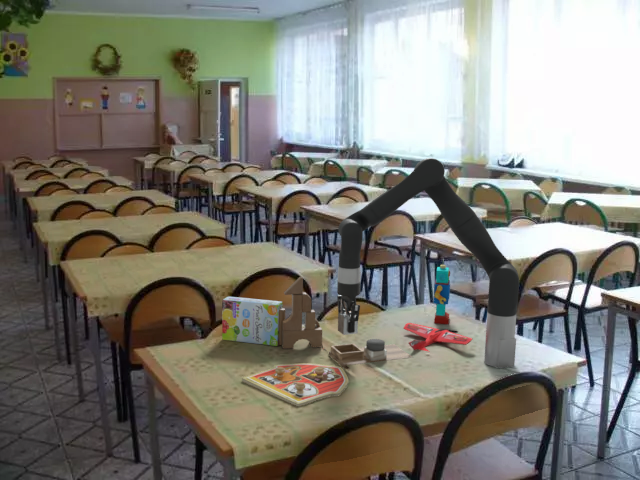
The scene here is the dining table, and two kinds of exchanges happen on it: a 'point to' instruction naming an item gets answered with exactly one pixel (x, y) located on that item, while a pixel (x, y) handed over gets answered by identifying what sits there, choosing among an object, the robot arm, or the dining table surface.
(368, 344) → the gray push button
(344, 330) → the white block
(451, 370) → the dining table surface
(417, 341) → the toy airplane
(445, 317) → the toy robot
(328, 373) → the knob puzzle
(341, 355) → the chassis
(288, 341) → the wooden toy
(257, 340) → the snack box
